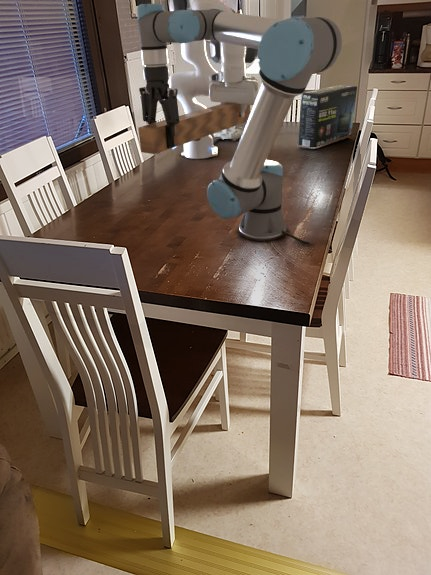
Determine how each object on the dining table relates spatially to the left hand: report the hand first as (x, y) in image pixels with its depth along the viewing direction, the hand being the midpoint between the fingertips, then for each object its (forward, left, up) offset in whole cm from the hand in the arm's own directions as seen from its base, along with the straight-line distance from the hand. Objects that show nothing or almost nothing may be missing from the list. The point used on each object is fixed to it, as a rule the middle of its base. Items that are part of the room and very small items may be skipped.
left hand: (233, 115), depth 173 cm
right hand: (+37, -16, -2) cm, 41 cm away
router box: (-77, +35, -28) cm, 89 cm away
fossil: (-85, -18, -28) cm, 92 cm away
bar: (+19, -8, -3) cm, 20 cm away
